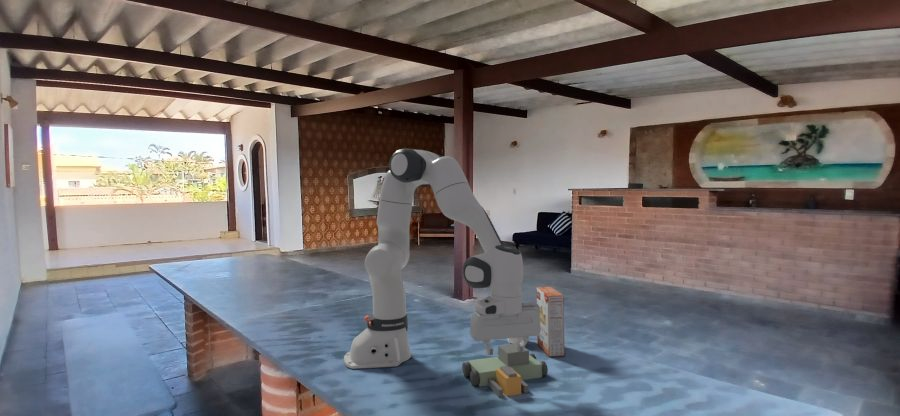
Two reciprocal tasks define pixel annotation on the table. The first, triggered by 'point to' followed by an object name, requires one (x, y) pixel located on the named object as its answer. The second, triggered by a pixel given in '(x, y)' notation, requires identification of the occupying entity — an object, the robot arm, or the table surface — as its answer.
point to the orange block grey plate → (508, 380)
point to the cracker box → (551, 321)
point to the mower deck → (520, 362)
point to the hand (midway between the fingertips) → (505, 352)
